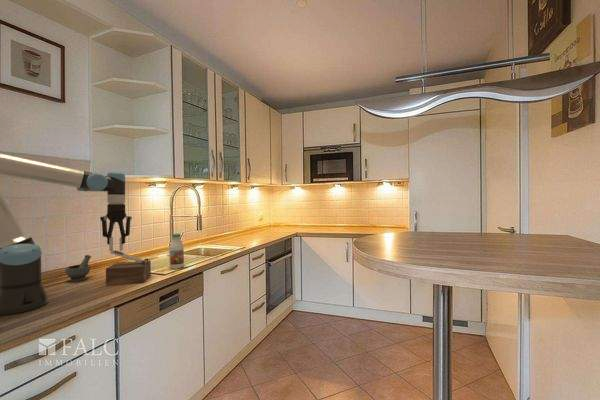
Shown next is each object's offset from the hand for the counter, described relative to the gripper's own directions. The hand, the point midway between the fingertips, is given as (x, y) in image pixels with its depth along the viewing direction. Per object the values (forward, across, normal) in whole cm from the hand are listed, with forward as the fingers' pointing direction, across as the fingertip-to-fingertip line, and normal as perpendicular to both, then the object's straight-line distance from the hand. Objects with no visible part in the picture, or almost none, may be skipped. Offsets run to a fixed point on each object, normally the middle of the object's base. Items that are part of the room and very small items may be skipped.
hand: (116, 250), depth 142 cm
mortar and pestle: (+16, +19, -8) cm, 26 cm away
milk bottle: (+15, -25, -20) cm, 35 cm away
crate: (+15, -6, 0) cm, 16 cm away
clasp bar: (+4, -6, 0) cm, 7 cm away
